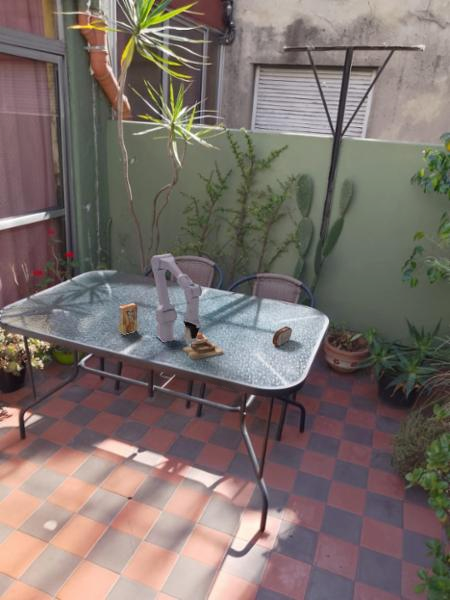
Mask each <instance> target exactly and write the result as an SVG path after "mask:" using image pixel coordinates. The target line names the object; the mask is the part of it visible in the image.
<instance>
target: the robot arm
mask: <svg viewBox="0 0 450 600" xmlns="http://www.w3.org/2000/svg"><path fill="white" fill-rule="evenodd" d="M150 264H151V270H152V273H153V276H154V277H153V278H154V282H155V286H156V293H157V299H158V303H159V304H158V306H157V308H156V309H155V320H156V322H157V323H156V335H158V336H159V338H160V339H161V340H162V342H164V343H167V342H166V341H169V342H173V340H174V341H177V340H178V339H177V338H176V337H175V336H174V333H175V332H174V327H175V326H174V325H175V323H176V320H177V319H178V312H177V310H176V307H175V306H174V304H171V301H170V296H169V290H168V285H167V279H166V272H167V270H168V271H169V272H171V274H172V275H173V276H174V277H175V278H176V283H177V284H178V285H179V286H180V288H181V289H183V294H184V297H185V301H186V313H183V323H184V324H183V325H184V327H185V326H189V327H190V330H191V337H192V339H194V338H196V337H197V334H198V333H199V331H200V329H201V328H202V323H201V322H200V318H199V312H200V311H199V309H200V308H199V307H200V305H199V304H200V297H201V296H202V294H203V289H202V287H201V286H200V284H198V283H194V281H193V280H192V279H191V278H190V276H189V275H188V274H186V273H183V272H182V270H181V269H180V268H179V266H178V265H177V263H176V260H175V257H174V255H173V254H172V253H170V252H169V253H163V254H158V255H153V256H152V258H151V259H150ZM162 342H161V343H162Z"/></svg>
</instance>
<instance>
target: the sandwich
mask: <svg viewBox="0 0 450 600" xmlns="http://www.w3.org/2000/svg"><path fill="white" fill-rule="evenodd" d="M292 332H293V329H292V328H291V327H289V326H287V325H286V326H284V327H281V328H279V329H278V330H277V331H275V333H274V334H273V337H272V344H273V346H277V347H281V346H282V345H284V344H286V343H287V342H288V341H289V340H290V338H292V337H291V336H292Z"/></svg>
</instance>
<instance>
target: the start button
mask: <svg viewBox="0 0 450 600" xmlns="http://www.w3.org/2000/svg"><path fill="white" fill-rule="evenodd" d="M203 335H204V334H203V333H202V332H198V339H202V336H203Z"/></svg>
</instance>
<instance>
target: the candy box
mask: <svg viewBox="0 0 450 600" xmlns="http://www.w3.org/2000/svg"><path fill="white" fill-rule="evenodd" d="M118 330H119V332H121V333H122V334H126V333H130V332H133V331H136V330H137V331H138V305H137V304H135V303H134V302H132V303H128V304H124V305H120V306H118Z"/></svg>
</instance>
